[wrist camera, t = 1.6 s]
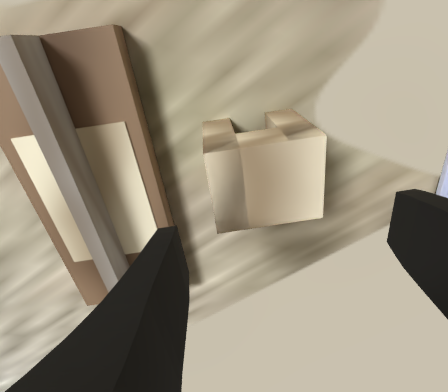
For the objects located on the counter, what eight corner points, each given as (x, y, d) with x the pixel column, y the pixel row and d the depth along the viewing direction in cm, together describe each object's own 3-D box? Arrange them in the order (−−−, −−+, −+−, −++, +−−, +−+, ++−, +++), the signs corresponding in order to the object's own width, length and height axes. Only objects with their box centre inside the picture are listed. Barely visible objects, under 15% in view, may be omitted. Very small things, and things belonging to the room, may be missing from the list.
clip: (291, 108, 16) (326, 135, 11) (292, 173, 18) (322, 217, 13) (202, 122, 16) (203, 154, 11) (213, 185, 18) (217, 233, 13)
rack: (121, 26, 13) (96, 22, 10) (187, 274, 21) (185, 316, 18) (-27, 48, 13) (-98, 51, 10) (94, 289, 21) (75, 332, 18)
